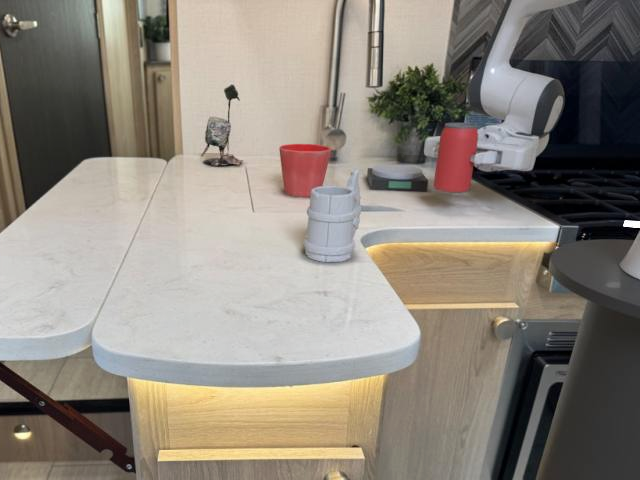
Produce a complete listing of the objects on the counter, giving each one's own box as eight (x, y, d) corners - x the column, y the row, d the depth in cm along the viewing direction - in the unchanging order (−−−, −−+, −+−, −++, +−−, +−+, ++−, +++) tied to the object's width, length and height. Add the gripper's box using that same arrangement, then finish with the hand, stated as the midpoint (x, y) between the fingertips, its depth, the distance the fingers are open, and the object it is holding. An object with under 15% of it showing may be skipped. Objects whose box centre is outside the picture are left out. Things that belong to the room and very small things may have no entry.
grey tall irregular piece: (208, 160, 155) (207, 83, 146) (247, 163, 151) (248, 84, 143) (197, 165, 148) (194, 85, 139) (237, 168, 144) (237, 86, 136)
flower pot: (309, 185, 128) (311, 141, 123) (337, 195, 119) (341, 149, 115) (269, 190, 123) (270, 144, 119) (295, 201, 114) (297, 153, 110)
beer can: (426, 190, 106) (434, 124, 101) (444, 184, 110) (453, 121, 105) (458, 196, 102) (469, 127, 97) (475, 190, 106) (487, 124, 101)
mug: (293, 255, 85) (296, 176, 80) (335, 237, 93) (340, 164, 88) (335, 267, 80) (342, 184, 75) (376, 247, 88) (384, 171, 83)
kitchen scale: (417, 179, 133) (419, 164, 132) (427, 191, 122) (429, 175, 120) (366, 178, 135) (368, 163, 133) (371, 190, 123) (372, 174, 122)
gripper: (448, 126, 117) (408, 132, 109) (548, 137, 102) (510, 144, 94) (444, 157, 119) (404, 165, 111) (540, 171, 105) (503, 182, 97)
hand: (453, 155), depth 103 cm, fingers closed on beer can, 6 cm apart
